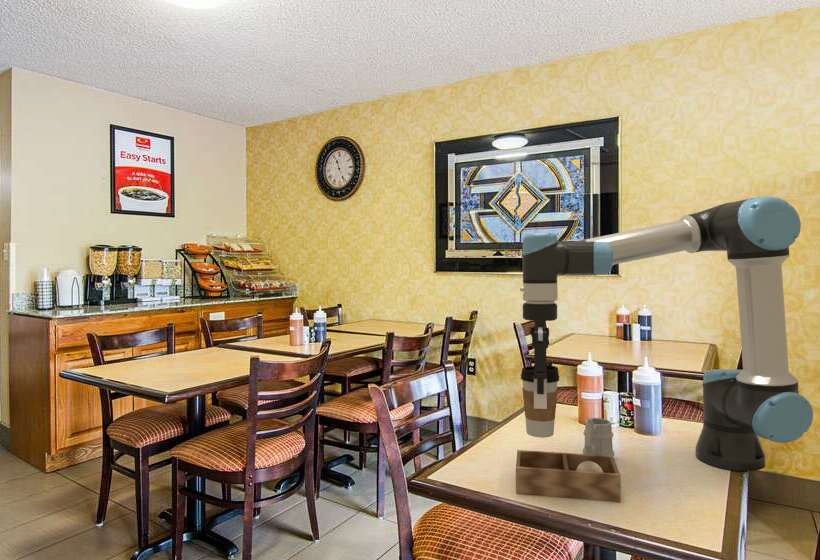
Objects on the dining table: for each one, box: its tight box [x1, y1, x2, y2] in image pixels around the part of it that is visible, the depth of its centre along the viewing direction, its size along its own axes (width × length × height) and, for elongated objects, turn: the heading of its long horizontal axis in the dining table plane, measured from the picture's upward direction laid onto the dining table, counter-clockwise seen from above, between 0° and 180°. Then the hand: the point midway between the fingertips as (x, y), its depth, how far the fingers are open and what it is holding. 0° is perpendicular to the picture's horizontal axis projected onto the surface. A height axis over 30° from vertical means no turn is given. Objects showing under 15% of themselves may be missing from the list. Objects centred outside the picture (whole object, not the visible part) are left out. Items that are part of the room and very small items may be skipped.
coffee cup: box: [520, 365, 560, 439], centre depth 117 cm, size 8×8×15 cm
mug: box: [582, 417, 615, 458], centre depth 133 cm, size 8×12×12 cm, turn 142°
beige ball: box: [576, 461, 603, 473], centre depth 115 cm, size 6×6×6 cm
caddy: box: [515, 449, 622, 503], centre depth 116 cm, size 21×11×6 cm, turn 77°
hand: (540, 402), depth 117 cm, fingers closed on coffee cup, 8 cm apart
